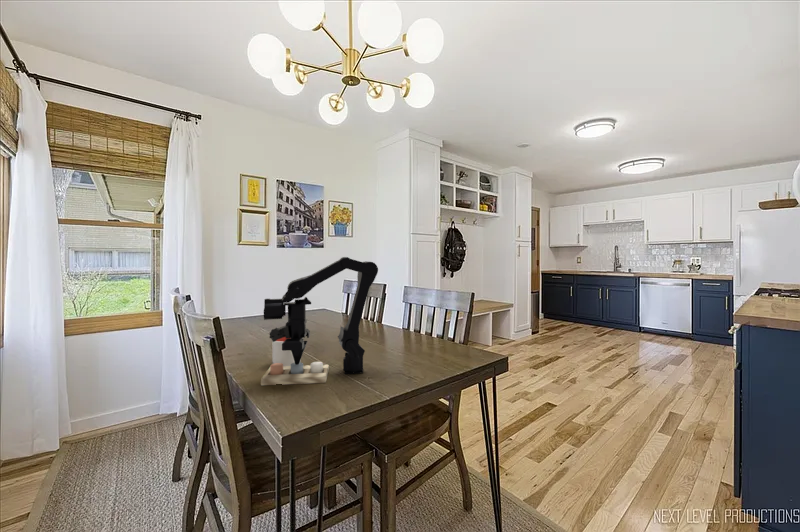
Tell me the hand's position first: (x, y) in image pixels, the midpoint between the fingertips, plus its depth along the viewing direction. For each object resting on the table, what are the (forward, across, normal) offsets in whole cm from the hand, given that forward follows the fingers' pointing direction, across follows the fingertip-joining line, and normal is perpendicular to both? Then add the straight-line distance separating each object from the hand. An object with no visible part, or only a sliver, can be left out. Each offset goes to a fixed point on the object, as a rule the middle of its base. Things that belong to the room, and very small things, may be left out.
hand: (297, 364), depth 115 cm
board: (+4, 0, 0) cm, 4 cm away
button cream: (+4, 0, +6) cm, 8 cm away
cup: (+5, -14, -6) cm, 16 cm away
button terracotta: (+4, 0, -7) cm, 8 cm away
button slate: (+4, 0, 0) cm, 4 cm away
